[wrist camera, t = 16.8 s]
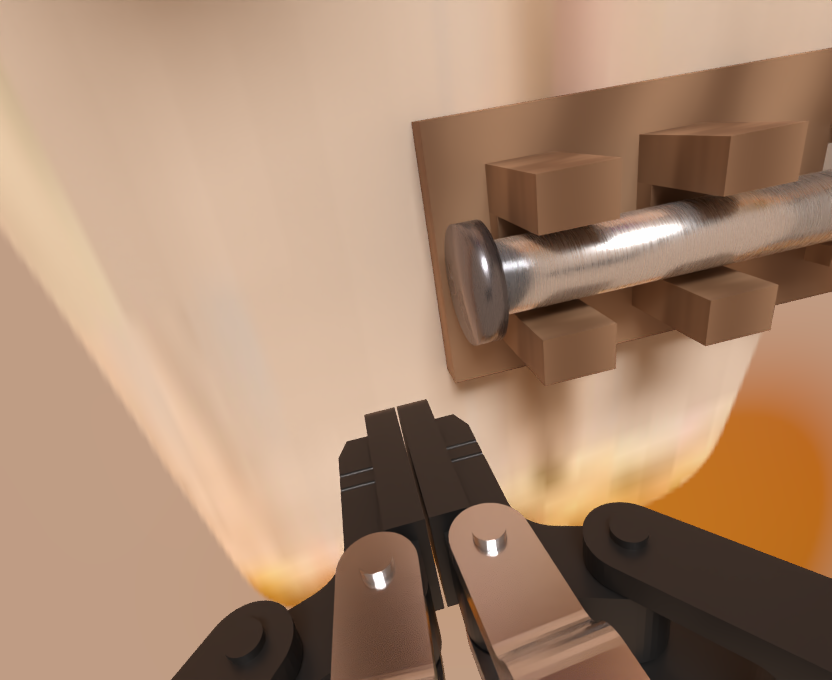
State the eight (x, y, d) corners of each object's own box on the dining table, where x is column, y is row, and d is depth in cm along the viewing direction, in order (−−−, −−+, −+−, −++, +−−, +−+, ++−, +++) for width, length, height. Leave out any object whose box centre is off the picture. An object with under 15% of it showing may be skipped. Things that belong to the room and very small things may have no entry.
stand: (934, 29, 23) (1150, -5, 17) (870, 267, 28) (1019, 304, 22) (411, 122, 20) (453, 119, 14) (447, 368, 25) (489, 442, 19)
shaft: (835, 135, 22) (963, 137, 18) (814, 237, 24) (924, 261, 20) (438, 214, 20) (474, 238, 15) (452, 319, 22) (487, 366, 18)
